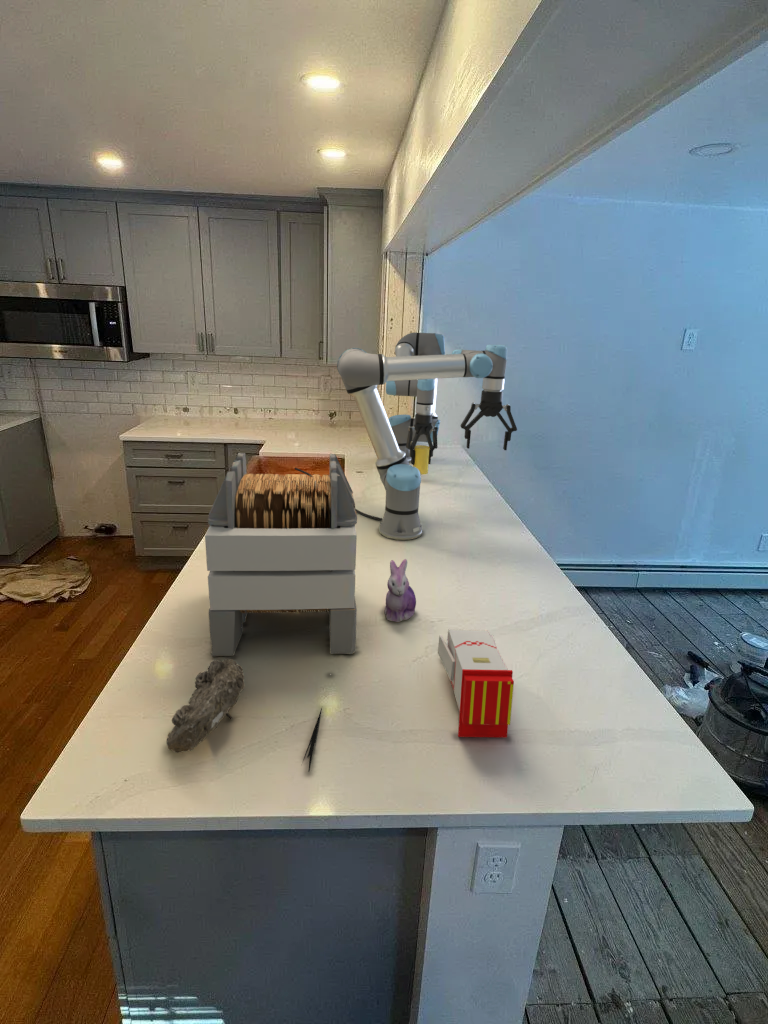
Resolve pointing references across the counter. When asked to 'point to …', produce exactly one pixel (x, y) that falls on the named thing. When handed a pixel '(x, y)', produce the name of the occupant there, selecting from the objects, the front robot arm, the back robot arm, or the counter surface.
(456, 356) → the front robot arm
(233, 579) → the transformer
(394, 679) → the counter surface
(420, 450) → the cylinder
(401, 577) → the figurine
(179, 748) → the fossil
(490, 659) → the toy
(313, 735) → the feather
